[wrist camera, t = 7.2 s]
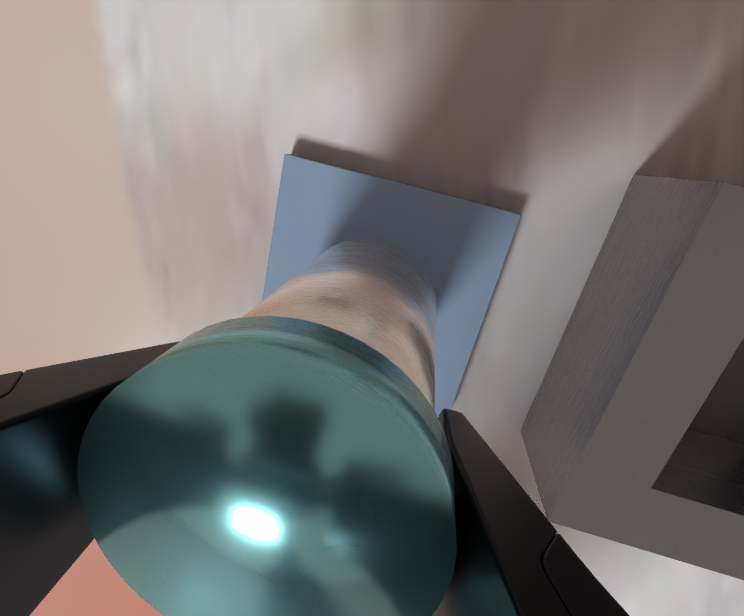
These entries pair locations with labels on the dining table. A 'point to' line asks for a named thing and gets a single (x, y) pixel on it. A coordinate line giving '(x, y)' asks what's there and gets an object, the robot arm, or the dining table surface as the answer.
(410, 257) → the green lidded jar
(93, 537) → the robot arm
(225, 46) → the dining table surface
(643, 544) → the housing
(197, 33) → the dining table surface
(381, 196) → the mat
